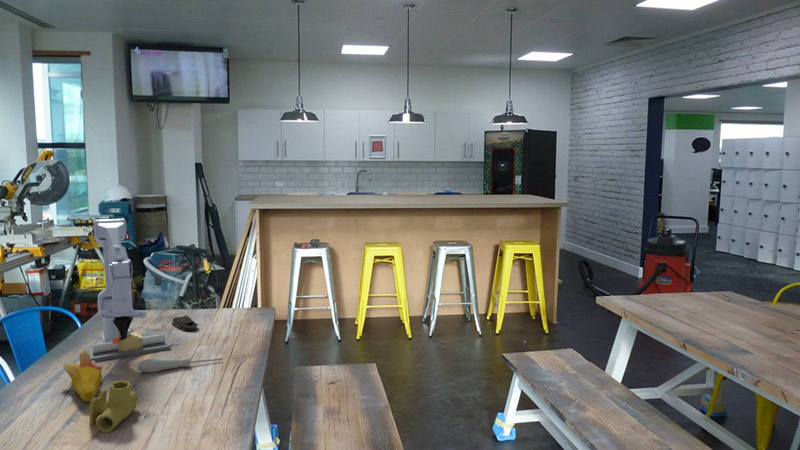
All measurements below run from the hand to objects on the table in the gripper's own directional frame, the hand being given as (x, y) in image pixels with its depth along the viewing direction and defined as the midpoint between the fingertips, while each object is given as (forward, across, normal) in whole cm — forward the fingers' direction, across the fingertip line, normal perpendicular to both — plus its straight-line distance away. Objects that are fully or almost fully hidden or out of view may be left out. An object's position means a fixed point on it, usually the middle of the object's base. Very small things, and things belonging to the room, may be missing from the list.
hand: (124, 338), depth 177 cm
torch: (+7, +1, -25) cm, 26 cm away
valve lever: (+1, -2, +3) cm, 4 cm away
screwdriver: (+8, +21, -6) cm, 23 cm away
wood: (+8, +4, +38) cm, 39 cm away
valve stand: (+7, -2, +8) cm, 11 cm away
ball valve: (+7, +17, -42) cm, 45 cm away
